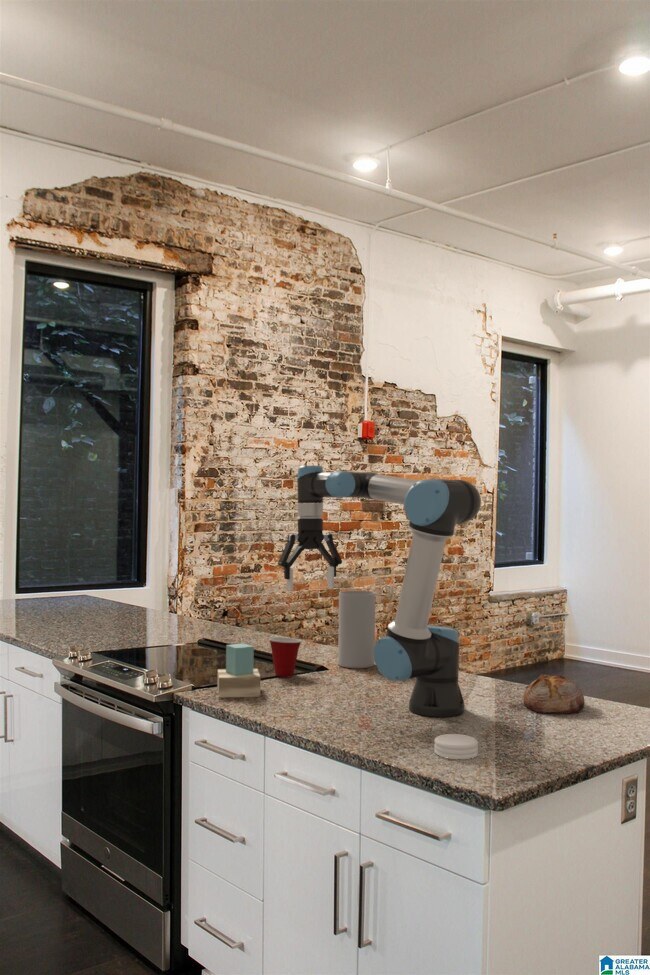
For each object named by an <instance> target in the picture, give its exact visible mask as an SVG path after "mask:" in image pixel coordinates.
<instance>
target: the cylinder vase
mask: <svg viewBox="0 0 650 975" xmlns="http://www.w3.org/2000/svg"><path fill="white" fill-rule="evenodd" d="M337 638H338V639H337V640H338V644H337V645H338V647H337V648H338V649H337V650H338V651H337V653H338V654H337V657H338V658H337V662H338V663H337V664H338V666H340V667H341V668H347V669H368V668H372V667H374V665H375V660H374V647H375V644H376V641H375V639H376V592H375V591H369V590H343V591H339V592H338V637H337Z"/></svg>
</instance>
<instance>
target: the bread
mask: <svg viewBox="0 0 650 975" xmlns="http://www.w3.org/2000/svg"><path fill="white" fill-rule="evenodd" d="M585 702H586V700H585V697H584V694H583V692H582V691H581V689H580V688H579V686H577V685H576V684H575V683H574V682H572V681H571V680H569V679H568V678H567V677H566V676H562V675H549V674H543V673H541V675H539V677H538V678H537V679H535V680H534V681H532V682H531V683H529V684H528V685H527V686H525V690H524V692H523V705H524V706H525V707H526V708H527V709H528V710H530V711H532V712H536V713H539V714H551V715H552V714H553V715H554V714H560V715H561V714H579V713H580V712H581V711H583V709H584V707H585V705H586V704H585Z"/></svg>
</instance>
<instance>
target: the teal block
mask: <svg viewBox="0 0 650 975" xmlns="http://www.w3.org/2000/svg"><path fill="white" fill-rule="evenodd" d="M254 648H255V647H254V646H253V645H250V644H247V643H234V644H226V646H225V652H226V653H225V658H226V659H225V669H226V672H227V673H230V674H232V675H235V676H237V675H245V674H253V669H254V654H255V652H254V651H255V650H254Z"/></svg>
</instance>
